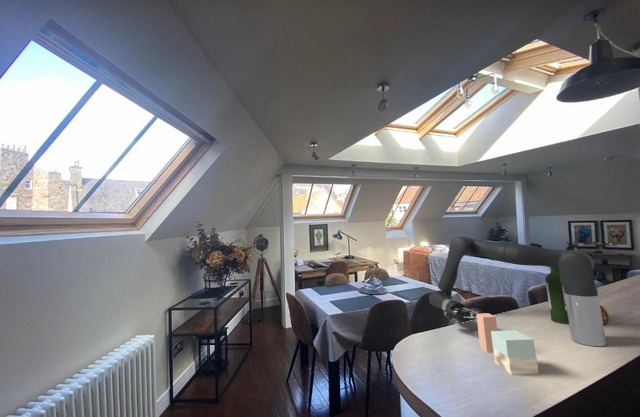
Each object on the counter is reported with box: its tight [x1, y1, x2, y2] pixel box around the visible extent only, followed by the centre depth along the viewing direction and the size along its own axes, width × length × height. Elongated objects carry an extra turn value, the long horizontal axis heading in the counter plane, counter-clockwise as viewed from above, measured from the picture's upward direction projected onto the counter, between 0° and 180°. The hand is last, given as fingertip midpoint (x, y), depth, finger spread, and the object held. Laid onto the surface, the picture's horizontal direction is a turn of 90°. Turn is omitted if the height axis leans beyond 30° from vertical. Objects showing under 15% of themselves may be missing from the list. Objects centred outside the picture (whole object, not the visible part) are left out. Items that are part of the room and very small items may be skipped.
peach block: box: [475, 312, 498, 353], centre depth 98 cm, size 4×4×12 cm
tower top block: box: [491, 329, 537, 358], centre depth 84 cm, size 8×8×5 cm
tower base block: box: [493, 347, 540, 376], centre depth 84 cm, size 8×8×5 cm
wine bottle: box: [544, 267, 569, 325], centre depth 123 cm, size 8×8×30 cm
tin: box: [600, 304, 610, 325], centre depth 120 cm, size 15×3×8 cm, turn 168°
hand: (471, 318), depth 109 cm, fingers open, 8 cm apart
